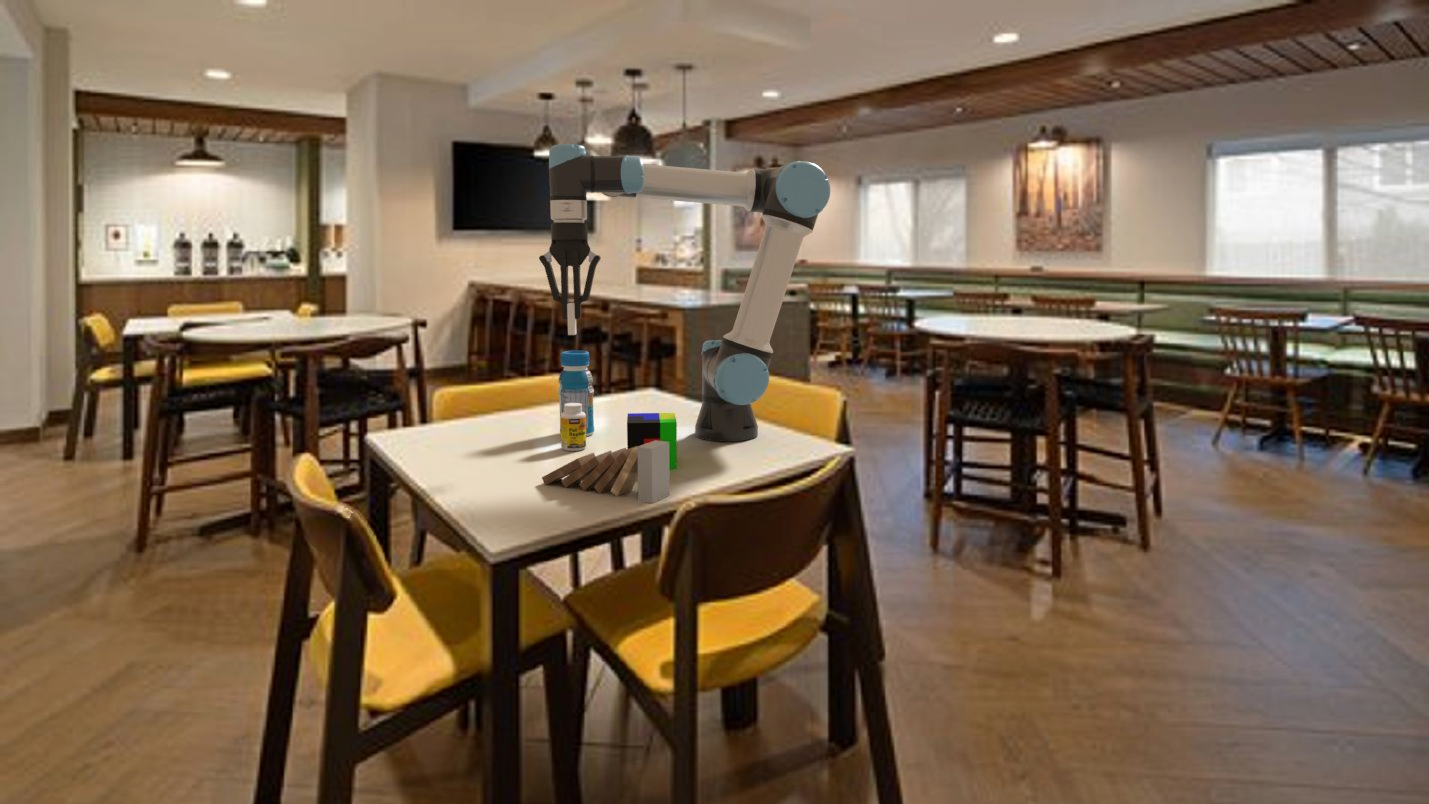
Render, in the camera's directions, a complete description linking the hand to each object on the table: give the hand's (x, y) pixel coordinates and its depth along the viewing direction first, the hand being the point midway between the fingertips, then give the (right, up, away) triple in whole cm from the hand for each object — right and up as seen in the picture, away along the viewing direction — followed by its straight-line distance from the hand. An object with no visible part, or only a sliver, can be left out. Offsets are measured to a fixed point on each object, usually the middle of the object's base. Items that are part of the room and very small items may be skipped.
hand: (572, 334), depth 188 cm
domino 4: (+10, -31, -23) cm, 39 cm away
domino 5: (+13, -31, -24) cm, 41 cm away
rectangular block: (+19, -32, -28) cm, 46 cm away
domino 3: (+7, -30, -21) cm, 37 cm away
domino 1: (-1, -29, -17) cm, 34 cm away
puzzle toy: (+17, -28, -3) cm, 33 cm away
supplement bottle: (-1, -25, +10) cm, 27 cm away
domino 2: (+3, -30, -19) cm, 35 cm away
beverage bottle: (-3, -23, +24) cm, 33 cm away
